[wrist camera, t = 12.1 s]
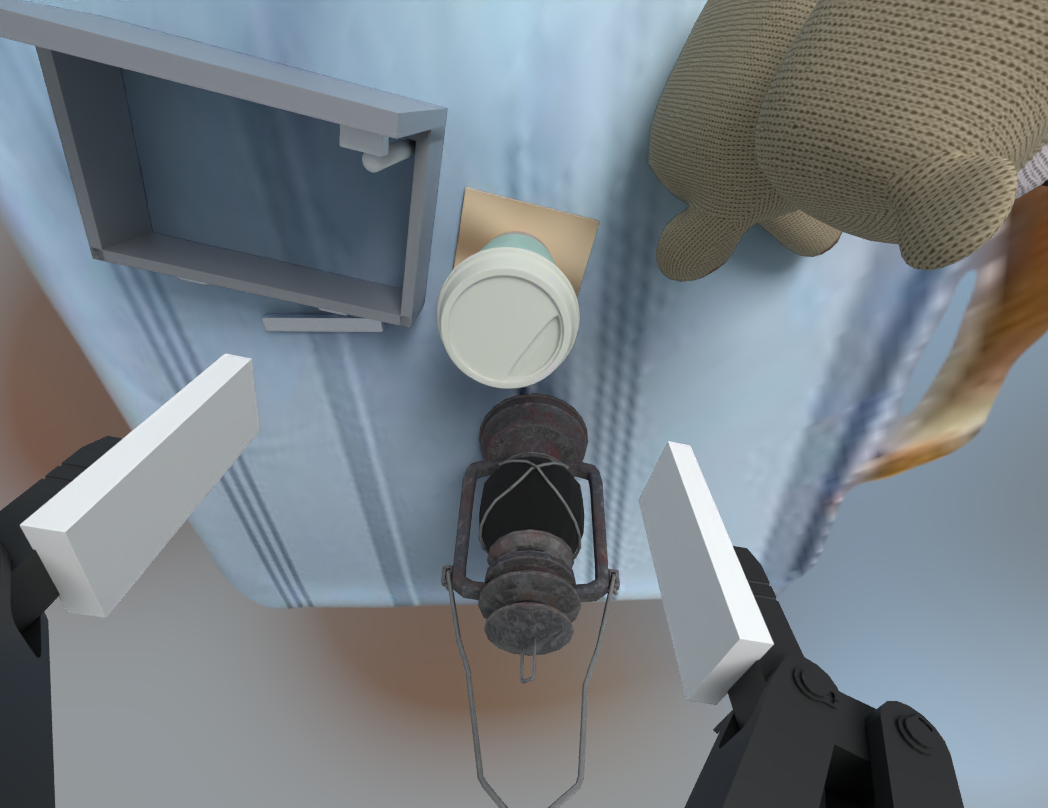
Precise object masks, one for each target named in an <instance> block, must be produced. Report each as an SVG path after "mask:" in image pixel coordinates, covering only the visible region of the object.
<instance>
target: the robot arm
mask: <svg viewBox="0 0 1048 808" xmlns="http://www.w3.org/2000/svg"><path fill="white" fill-rule="evenodd" d="M259 431H260V426H259V417H258V409H257V400H256V391H255V383H254V374H253V366H252V359H251V358H245V357H240V356H235V355H230V354H224V355H223V356H221V357H220V358H219V359H218V360H217V361H215V362H214V363H213V364H212V365H211V366H209V367H208V368H207V369H206V370H205V371H203V372H202V373H201V374H200V375H199V376H197V377H196V378H195V379H194V380H193V381H191V382H190V383H189V384H188V385H187V386H186V387H184V388H183V389H182V390H181V391H180V392H178V393H177V394H176V395H175V396H174V397H172V398H171V399H170V400H169V401H168V402H166V403H165V404H164V405H163V406H162V407H160V408H159V409H158V410H157V411H156V412H154V413H153V414H152V415H151V416H150V417H148V418H147V419H146V420H145V421H144V422H142V423H141V424H140V425H139V426H138V427H136V428H135V429H134V430H133V431H132V432H130V433H129V434H128V435H127V436H126V437H125V438H123V439H122V438H117V437H111V436H106V437H104V438H102V439H100V440H97V441H95V442H93V443H91V444H88V445H86V446H84V447H82V448H81V449H79V450H78V451H77V452H75V453H74V454H73V455H72V456H70V457H69V458H68V459H66V460H65V461H64V462H63V463H62V465H61V466H57V467H56V468H55V469H54V470H52V471H51V472H50V473H48V474H47V475H46V477H45V479H41V480H39V481H38V482H37V483H36V484H34V485H33V486H32V487H30V488H29V489H28V490H27V491H25V492H24V493H23V494H21V495H20V496H19V497H18V498H16V499H15V500H14V501H12V502H11V503H10V504H9V505H7V506H6V507H5V508H3V509H2V510H1V511H0V808H55V790H54V763H53V739H52V710H51V685H50V684H51V683H50V660H49V659H50V658H49V631H48V619H47V617H46V614H45V612H44V611H45V610H46V609H47V608H48V607H49V606H50V605H51V604H52V603H53V602H54V600H55V599H56V598H57V597H58V596H59V597H60V599H61V601H62V603H63V605H64V606H65V608H66V610H67V612H70V613H77V614H84V615H91V616H98V617H105V618H106V617H107V616H108V615H109V613H110V612H111V611H112V610H113V609H114V607H115V606H116V605H117V604H118V603H119V601H120V600H121V599H122V598H123V596H124V595H125V594H126V593H127V592H128V590H129V589H130V588H131V587H132V585H133V584H134V583H135V582H136V581H137V579H138V578H139V577H140V576H141V575H142V573H143V572H144V571H145V570H146V569H147V567H148V566H149V565H150V563H151V562H152V561H153V560H154V559H155V558H156V556H157V555H158V554H159V553H160V551H161V550H162V549H163V548H164V547H165V545H166V544H167V543H168V542H169V541H170V539H171V538H172V537H173V536H174V534H175V533H176V532H177V531H178V530H179V528H180V527H181V526H182V525H183V523H184V522H185V521H186V520H187V519H188V518H189V516H190V515H191V514H192V513H193V511H194V510H195V509H196V508H197V507H198V505H199V504H200V503H201V502H202V501H203V499H204V498H205V497H206V496H207V494H208V493H209V492H210V491H211V490H212V488H213V487H214V486H215V485H216V484H217V482H218V481H219V480H220V479H221V477H222V476H223V475H224V474H225V473H226V471H227V470H228V469H229V468H230V467H231V465H232V464H233V463H234V462H235V460H236V459H237V458H238V457H239V456H240V454H241V453H242V452H243V451H244V450H245V448H246V447H247V446H248V445H249V443H250V442H251V441H252V440H253V439H254V437H255V436H256V435H257V434H258V433H259ZM639 504H640V509H641V513H642V517H643V521H644V525H645V529H646V534H647V538H648V542H649V546H650V550H651V555H652V559H653V563H654V567H655V571H656V575H657V580H658V584H659V588H660V592H661V596H662V601H663V605H664V609H665V613H666V617H667V621H668V626H669V630H670V634H671V638H672V642H673V647H674V651H675V655H676V659H677V663H678V667H679V672H680V675H681V680H682V684H683V688H684V692H685V697H686V701H693V702H700V703H707V704H714V705H717V704H718V703H719V701H721V699H722V698H723V697H724V696H725V695H726V694H727V693H728V695H729V698H730V701H731V704H732V707H733V710H732V711H731V712H730V713H729V714H728V715H727V716H726V717H725V718H724V719H723V720H722V721H721V722H720V723H719V724H718V725H717V726H716V727H715V728H714V729H713V730H714V731H715V732H716V733H717V734H718V733H719V735H718V737H717V739H716V741H715V743H714V746H713V748H712V750H711V752H710V754H709V756H708V758H707V761H706V763H705V765H704V767H703V769H702V771H701V773H700V775H699V778H698V780H697V782H696V784H695V786H694V788H693V790H692V793H691V795H690V797H689V799H688V801H687V803H686V806H685V808H964V806H963V802H962V798H961V794H960V790H959V787H958V782H957V779H956V774H955V770H954V766H953V762H952V758H951V755H950V752H949V750H948V748H947V746H946V743H945V741H944V740H943V738H942V737H941V736H940V734H939V733H938V731H937V730H936V728H935V727H934V726H933V725H932V724H931V723H930V722H929V721H928V720H927V719H926V718H925V717H924V716H923V715H921V714H920V713H918V712H917V711H915V710H914V709H913V708H911V707H910V706H908V705H906V704H903V703H901V702H898V701H887V702H886V703H884V704H883V705H882V706H880V707H879V708H878V709H875V708H873V707H871V706H869V705H866V704H864V703H862V702H860V701H858V700H856V699H854V698H852V697H850V696H847V695H845V694H843V693H841V692H840V691H838V688H837V687H836V685H835V684H834V682H833V681H832V680H831V678H830V677H829V675H828V674H827V673H825V672H824V671H823V670H822V669H821V668H820V667H819V666H818V665H816V664H815V663H813V662H811V661H810V660H808V659H806V658H805V657H804V656H803V654H802V652H801V649H800V647H799V645H798V643H797V641H796V639H795V637H794V635H793V632H792V630H791V628H790V626H789V624H788V621H787V619H786V617H785V615H784V613H783V611H782V609H781V606H780V604H779V602H778V601H776V596H775V593H774V591H773V589H772V587H771V586H769V581H768V578H767V576H766V574H765V572H764V570H763V568H762V566H761V564H760V563H759V562H758V561H757V559H756V558H755V557H754V556H753V555H752V554H751V552H750V551H749V550H748V549H747V548H742V547H736V546H732V543H731V541H730V539H729V536H728V534H727V532H726V529H725V527H724V524H723V522H722V520H721V517H720V515H719V513H718V510H717V508H716V505H715V503H714V501H713V498H712V496H711V494H710V491H709V489H708V486H707V484H706V482H705V479H704V477H703V475H702V472H701V470H700V468H699V465H698V463H697V460H696V458H695V456H694V453H693V451H692V449H691V446H690V445H685V444H680V443H675V442H670V441H668V442H667V444H666V446H665V448H664V450H663V452H662V454H661V456H660V458H659V460H658V462H657V464H656V466H655V468H654V470H653V472H652V474H651V476H650V478H649V480H648V482H647V484H646V486H645V488H644V490H643V492H642V494H641V496H640V498H639Z"/></svg>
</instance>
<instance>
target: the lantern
mask: <svg viewBox="0 0 1048 808" xmlns="http://www.w3.org/2000/svg"><path fill="white" fill-rule="evenodd" d="M479 441H480V445H481V446H480V447H481V451H482V455H483V458H484V460H485V461H480V462H476V463H472V464H471V465H470V466H469V467H468V468H467V470H466V473H465V476H464V479H463V484H462V493H461V502H460V511H459V520H458V528H457V537H456V546H455V555H454V564H453V566H444V567H443V571H442V579H441V582H442V586H445V587H446V589H447V591H449V595H450V602H451V607H452V615H453V621H454V628H455V634H456V641H457V644H458V647H459V651H460V654H461V658H462V661H463V665H464V668H465V671H466V679H467V688H468V697H469V706H470V714H471V723H472V732H473V741H474V750H475V759H476V768H477V776H478V780H479V782H480V784H481V786H482V787H483V789H484V790H485V791H486V792H487V794H488V795H489V796H490V797H491V798H492V800H493V801H494V802H495V803H496V805H497V806H498V807H499V808H508V807H507V806H506V805H505V804H504V802H502V800H501V799H500V798H499V796H498V795H497V794H496V793H495V792H494V790H493V789H492V788H491V787H490V785H489V784H488V783H487V782H486V780H485V778H484V776H483V769H482V760H481V752H480V744H479V736H478V728H477V720H476V711H475V703H474V695H473V687H472V679H471V671H470V667H469V664H468V660H467V658H466V654H465V651H464V647H463V644H462V641H461V636H460V630H459V624H458V618H457V612H456V605H455V599H454V592H453V589H454V590H455V591H456V592H457V593H458V594H460V595H461V596H462V597H463V598H469V599H475V600H479V602H478V606H479V608H480V610H481V613H482V615H483V617H484V618H485V619H487V621H486V624H485V628H484V630H485V633H486V635H487V637H488V640H490V641H491V642H492V643H493V644H494V645H496V646H497V647H498V648H500V649H503V650H505V651H508V652H511V653H514V654H521V664H520V682H521V683H526V682H529V681H532V680H534V679H535V676H536V655H542V654H547V653H550V652H553V651H556V650H559V649H561V648H562V647H563V646H565V645H566V644H567V643H569V642H570V640H571V637H572V635H573V633H574V630H573V626H572V622H573V621H574V620H575V619H576V618H577V616H578V613H579V611H580V609H581V603H580V602H591V601H597V600H598V599H600V598H601V597H602V596H604V595H605V594H607V593H608V595H607V600H606V604H605V609H604V614H603V618H602V623H601V627H600V631H599V636H598V641H597V645H596V648H595V651H594V654H593V657H592V660H591V663H590V666H589V668H588V671H587V675H586V677H585V680H584V683H583V692H582V710H581V731H580V749H579V768H578V778H577V781H576V784H575V785H573V786H572V787H571V788H570V789H569V790H568V791H567V792H566V793H564V794H563V795H562V796H561V797H560V798H559V799H557V800H556V801H555V802H554V803H553V804H552V805H551V806H549V808H559V807H560V806H561V805H562V804H563V803H564V802H565V801H567V800H568V799H569V798H570V797H571V796H572V795H574V794H575V793H576V792H577V791H578V790H579V789H580V788H581V785H582V783H583V780H584V762H585V738H586V716H587V693H588V684H589V681H590V678H591V675H592V673H593V670H594V666H595V664H596V661H597V658H598V655H599V652H600V649H601V644H602V640H603V635H604V631H605V626H606V621H607V617H608V612H609V607H610V602H611V598H612V593H613V594H614V595H617V594H618V592H617V591H616V590H619V586H620V582H619V571H618V570H615V569H608V560H607V544H606V529H605V514H604V498H603V483H602V479H601V476H600V473H599V471H598V469H597V468H596V467H595V466H594V465H591V464H587V463H584V462H582V461H583V459H584V456H585V452H586V447H587V443H588V436H587V428H586V426H585V423H584V421H583V419H582V417H581V416H580V415H579V414H578V412H577V411H576V410H575V409H574V408H573V407H571V406H570V405H568V404H567V403H566V402H564V401H563V400H560V399H557V398H554V397H552V396H549V395H542V394H524V395H517V396H515V397H512V398H509V399H506V400H504V401H502V402H501V403H499V404H498V405H496V406H495V407H493V409H492V410H491V411H490V412H489V413H488V414H487V415H486V416H485V419H484V421H483V423H482V425H481V428H480V438H479ZM488 475H491V476H490V477H489V479H488V480H487V481H486V482H485V484H484V489H483V494H482V499H481V506H480V513H479V540H480V543H481V546H482V549H483V550H484V551H485V552H487V553H488V559H487V561H488V564H489V567H488V569H487V573H486V577H485V583H483V582H476V581H472V580H470V579H468V578H467V577H466V564H467V555H468V546H469V537H470V528H471V519H472V509H473V500H474V491H475V486H476V481H477V478H480V477H484V476H488ZM574 476H575V477H580V478H583V479H586V480H588V481H589V486H590V494H591V510H592V526H593V542H594V558H595V580H594V581H592V582H590V583H588V584H578V585H576V583H575V577H574V573H573V570H572V566H573V564H574V559H575V558H576V557H577V555H578V553H579V551H580V549H581V538H582V536H583V532H584V508H583V499H582V493H581V488H580V484H579V483H578V482H577V481H576V480H575V478H574ZM481 537H482V539H483V542H484V545H485V547H486V548H485V547H484V545H483V542H482V539H481ZM577 548H578V549H577ZM576 550H577V551H576ZM575 552H576V553H575ZM574 554H575V555H574ZM573 556H574V557H573ZM446 576H447V579H446ZM608 590H609V591H608ZM524 655H528V656H530V655H533V676H532V677H530V678H527V679H524V680H523V664H524V663H523V662H524Z"/></svg>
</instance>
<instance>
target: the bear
mask: <svg viewBox="0 0 1048 808" xmlns="http://www.w3.org/2000/svg"><path fill="white" fill-rule="evenodd" d="M648 163H649V165H650V167H651V168H652V170H653V172H654V173H655V175H656V177H657V178H658V179H659V181H660V182H661V183H662V184H663V185H664V186H665V187H666V188H667V189H668V190H669V191H670V192H671V193H672V194H673V195H674V196H676V197H677V198H679V199H680V200H682V201H684V202H685V203H687V204H689V207H688V208H687V209H686V210H684V211H683V212H681V213H680V214H678V215H677V216H675V217H674V218H673V219H672V220H671V221H670V222H669V223H668V224H667V225H666V226H665V228H664V230H663V231H662V233H661V235H660V238H659V241H658V245H657V250H656V258H657V263H658V266H659V268H660V270H661V272H662V273H663V275H665V276H666V277H668V278H669V279H672V280H676V281H680V282H681V281H691V280H697V279H700V278H702V277H705V276H706V275H708V274H710V273H712V272H713V271H715V270H717V269H718V268H719V267H721V266H722V265H723V264H724V263H725V262H726V261H727V260H728V259H729V257H730V256H731V254H732V253H733V251H734V250H735V248H736V246H737V244H738V243H739V241H740V239H741V238H742V236H743V235H744V234H745V232H746V231H747V230H748V229H750V228H751V227H752V226H753V225H755V224H757V223H758V224H759V225H760V226H762V227H763V228H764V229H765V230H766V231H768V232H769V233H770V234H771V235H772V236H773V237H774V238H775V239H777V240H778V241H779V242H780V243H781V244H783V245H784V246H785V247H787V248H788V249H790V250H791V251H793V252H795V253H796V254H798V255H801V256H807V257H814V256H818V255H821V254H823V253H825V252H826V251H828V250H830V249H831V248H832V247H833V246H834V245H835V244H836V243H837V242H838V240H839V238H840V236H841V234H842V232H845V233H848V234H851V235H854V236H857V237H860V238H863V239H867V240H870V241H876V242H883V243H892V244H899V247H900V251H901V255H902V257H903V259H904V261H905V262H906V264H908V265H909V266H911V267H913V268H915V269H923V270H933V269H938V268H943V267H945V266H948V265H951V264H953V263H956V262H958V261H960V260H961V259H963V258H965V257H967V256H969V255H971V254H972V253H974V252H975V251H976V250H977V249H979V248H980V247H981V246H982V245H984V244H985V243H986V242H987V241H988V240H989V239H990V238H991V237H992V236H993V235H994V234H995V233H996V232H997V231H998V229H999V228H1000V227H1001V226H1002V224H1003V223H1004V221H1005V220H1006V218H1007V216H1008V215H1009V213H1010V212H1011V209H1012V206H1013V203H1014V201H1015V199H1016V198H1019V197H1021V196H1022V195H1024V194H1025V193H1027V192H1029V191H1030V190H1032V189H1034V188H1036V187H1038V186H1040V185H1043V186H1048V0H708V1H707V3H706V5H705V6H704V8H703V10H702V12H701V14H700V15H699V17H698V19H697V21H696V23H695V25H694V27H693V29H692V31H691V33H690V35H689V37H688V39H687V41H686V43H685V45H684V47H683V49H682V51H681V54H680V56H679V58H678V60H677V62H676V64H675V66H674V68H673V70H672V72H671V74H670V76H669V78H668V80H667V83H666V85H665V88H664V90H663V93H662V95H661V97H660V100H659V102H658V105H657V107H656V111H655V115H654V118H653V122H652V126H651V129H650V140H649V156H648Z"/></svg>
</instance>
